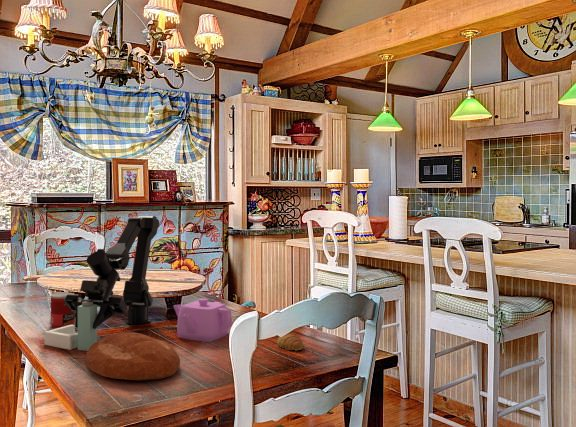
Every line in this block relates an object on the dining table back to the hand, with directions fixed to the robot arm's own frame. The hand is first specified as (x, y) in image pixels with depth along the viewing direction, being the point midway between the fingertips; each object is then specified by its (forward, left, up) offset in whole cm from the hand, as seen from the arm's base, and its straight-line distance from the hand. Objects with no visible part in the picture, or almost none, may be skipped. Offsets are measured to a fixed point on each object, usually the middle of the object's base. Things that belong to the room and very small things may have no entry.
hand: (84, 327), depth 159 cm
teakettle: (-33, +14, -7) cm, 37 cm away
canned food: (-10, -32, -7) cm, 34 cm away
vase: (-16, -44, -7) cm, 47 cm away
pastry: (-43, +44, -7) cm, 62 cm away
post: (-1, -1, -7) cm, 7 cm away
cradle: (-1, -10, -7) cm, 12 cm away
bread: (0, +24, -7) cm, 25 cm away
